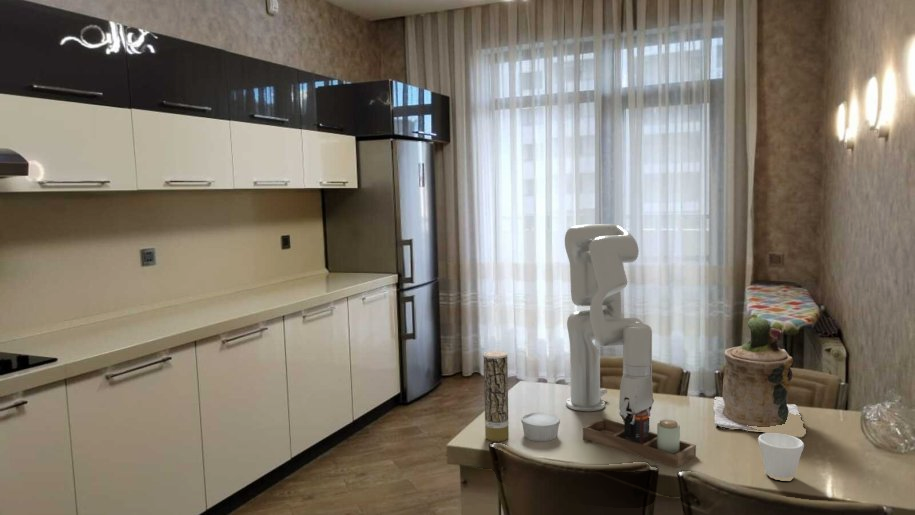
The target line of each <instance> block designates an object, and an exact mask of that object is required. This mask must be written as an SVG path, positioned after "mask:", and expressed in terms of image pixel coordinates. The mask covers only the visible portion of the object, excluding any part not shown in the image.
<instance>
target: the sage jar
mask: <svg viewBox="0 0 915 515" xmlns="http://www.w3.org/2000/svg"><path fill="white" fill-rule="evenodd" d="M656 424H657V426H656V427H657V428H656V431H657V432H656V434H657V449H658V450H662V451H665V452H668V453H671V454H675V455H676V454H677V453H679V452H680V441H681V440H680V436H681V432H680V430H681V426H680V424H678V421H675V420H672V419H667V418H666V419H660V421H659V422H658V423H656Z"/></svg>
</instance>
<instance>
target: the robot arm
mask: <svg viewBox="0 0 915 515" xmlns="http://www.w3.org/2000/svg"><path fill="white" fill-rule="evenodd" d="M564 246H565V247H564V248H565V251H566V255H567V258H568V261H569V269H570V270H569V271H570V272H569V276H570V279H569V280H570V296H571V301H572V303H573V304H574V305H575V306H577V307H589V309H586V310H585V309H584V310H577V311H574V312H572V313H570V315H569V316H568V317H567V320H566V326H567V332H568V338H569V355H570V360H569V361H570V363H569V364H570V366H569V368H570V372H569V373H570V397H568V398H567V399H566V401H565V405H566V407H567V408H569V409H571V410H574V411H578V412H597V411H600V410H603V409H604V408H605V406H606V402H605V401H604V400H603V399H602V396H604V395H607V393H608V390H607V388H601V354H600V351H599V348H598V346H596V345H595V344H594V342H593V341H594V340H595V341H596V342H597V344H599V345H600V346H602V347H615V346H622V375H621V376H622V377H621V380H620V385H619V400H618V404H619V405H618V407H619V408H618V409H619V412H618V413H619V416H620V417H621V419H622V420H623V424H624V435H625V436H627V437H630V438H633V439H634V438H636V424H634V422H635V418H636V413H639V412H641V411H643V410H645V409H646V410H647V411H648V431H649V432H650V417H651V410H652V407H653V405H654V403H655V400H654V395H653V394H654V392H653V390H654V387H653V378H652V376H653V375H652V374H653V372H652V370H653V366H652V364H653V363H652V362H653V361H652V360H653V330H652V327H651V326H650V325H649V324H645V323H644V322H643V321H642V320H641V319H639V318H638V317H637V318H636V317H625V318H624V317H623V318H622V294H621V293H622V291H623V290H624V289H625V288H626V287H627V285H628V278H627V275H626V271H625V267H624V264H625V263H626V264H627V263H628V264H630V263H633V262H636V260H638V257H639V246H638V243H637V240H636V238H635V237H634V236H633V235H632V234H631V233H630V232H628V231H627V230H626V229H625V228H624V227H622V226H620V225H619V224H616V223H599V224H596V223H595V224H593V223H592V224H578V225H574V226H571V227H569V228H568V229H567V230H566V232H565V235H564ZM629 409H631V410H632V412H630V411H629ZM629 414H632V417H631V418H630V417H629V416H628V415H629Z"/></svg>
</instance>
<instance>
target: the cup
mask: <svg viewBox="0 0 915 515" xmlns="http://www.w3.org/2000/svg"><path fill="white" fill-rule="evenodd" d="M757 442H758V445H759V447H760V451H761V456H762V460H763V461H762V462H763V466H764V470H765V474H766V473H767V474H769V475H772V476H774V477H780V478H789V477H793V476H794V477H795V475H796V472H797V469H798V466H799V463H800V459H801V456H802V453H803V451H804V448H805V443H804V442H803V441H802V440H801V439H800V438H799V437H794V436H791V435H787V434H781V433H761V434H760V435H759V436H758V438H757Z"/></svg>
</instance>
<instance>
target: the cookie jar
mask: <svg viewBox="0 0 915 515" xmlns="http://www.w3.org/2000/svg"><path fill="white" fill-rule="evenodd" d="M750 315H751V316H750V318H749V320H748V322H747V323H746V324H747V326H748V328H749V329H750V332H751V340H750V341H748V342H744V343H743V344H742V345H739V346H733V347H730V348H726V349H725V350H724V354H723V356H724V358H725V360H726V361H725V365H724V366H725V372H724V376H723V378H722V379H723V380H722V397H721V396H715V397H714V399H716V400H714V399H713V402H712V403H713V408H712V409H713V411H714V419H713V422H714V424H715V427H717V426H719V427H720V428H722V427H727V428H739V429H747V430H757V429H754V428H752V427H749V426H757V427H770V426H776V425H782V424H785V422H786V420H787V417H788V413H791V414H794V415H796V414H798V415H800V416H801V414H799V413H800V412H799V408H798V405H797V404H794V403H793V404H792V403H790V404H789V403H788V399H789V398H788V394H789V392H790V388H791V383H790V382H791V380H792V379H793V372H792V371H793V370H792V369H791V366H792V365H793V362H794V359H793V357H792V356H790V355H789V353H788V351H786V349H784V348H780V347H779V345H778V343H780V342H781V341H782V336H783V332H782V330H781V329H779V328H775V327H771V324H770V322H769V321H768V320H767V319H765V318H761V317H759V316H758V315H756V314H754V313H752V314H750ZM802 420H803V419H802ZM802 420H801V421H802ZM747 425H748V426H747ZM758 431H761V430H758Z"/></svg>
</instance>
